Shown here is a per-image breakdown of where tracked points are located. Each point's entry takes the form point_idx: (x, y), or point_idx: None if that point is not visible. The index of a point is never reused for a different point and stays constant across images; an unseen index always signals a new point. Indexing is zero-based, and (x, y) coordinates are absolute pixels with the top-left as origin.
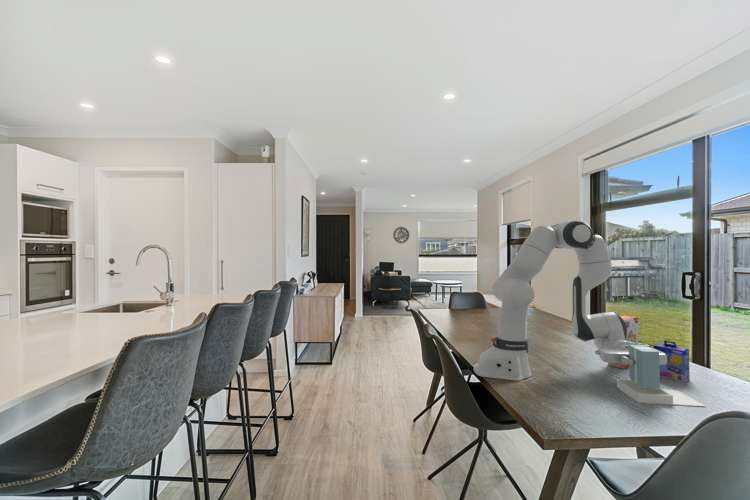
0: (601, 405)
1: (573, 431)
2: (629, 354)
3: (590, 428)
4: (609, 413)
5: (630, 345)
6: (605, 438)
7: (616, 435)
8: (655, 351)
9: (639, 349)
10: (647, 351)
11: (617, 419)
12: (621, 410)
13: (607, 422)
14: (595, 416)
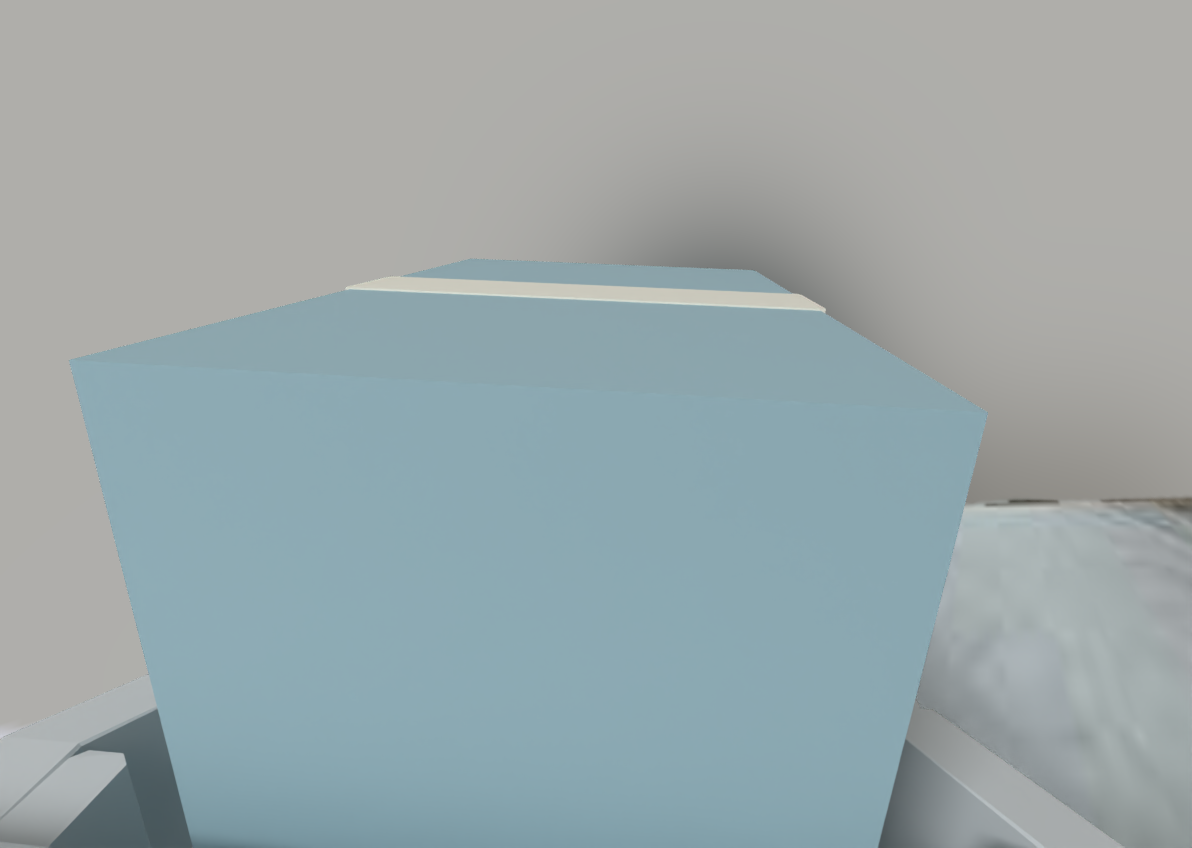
0: (1139, 766)
1: (1180, 525)
2: (855, 824)
3: (1115, 540)
4: (1046, 652)
5: (894, 371)
6: (1035, 499)
7: (993, 510)
8: (519, 261)
9: (750, 283)
10: (662, 267)
11: (991, 598)
12: (961, 691)
13: (1044, 575)
14: (1128, 620)
